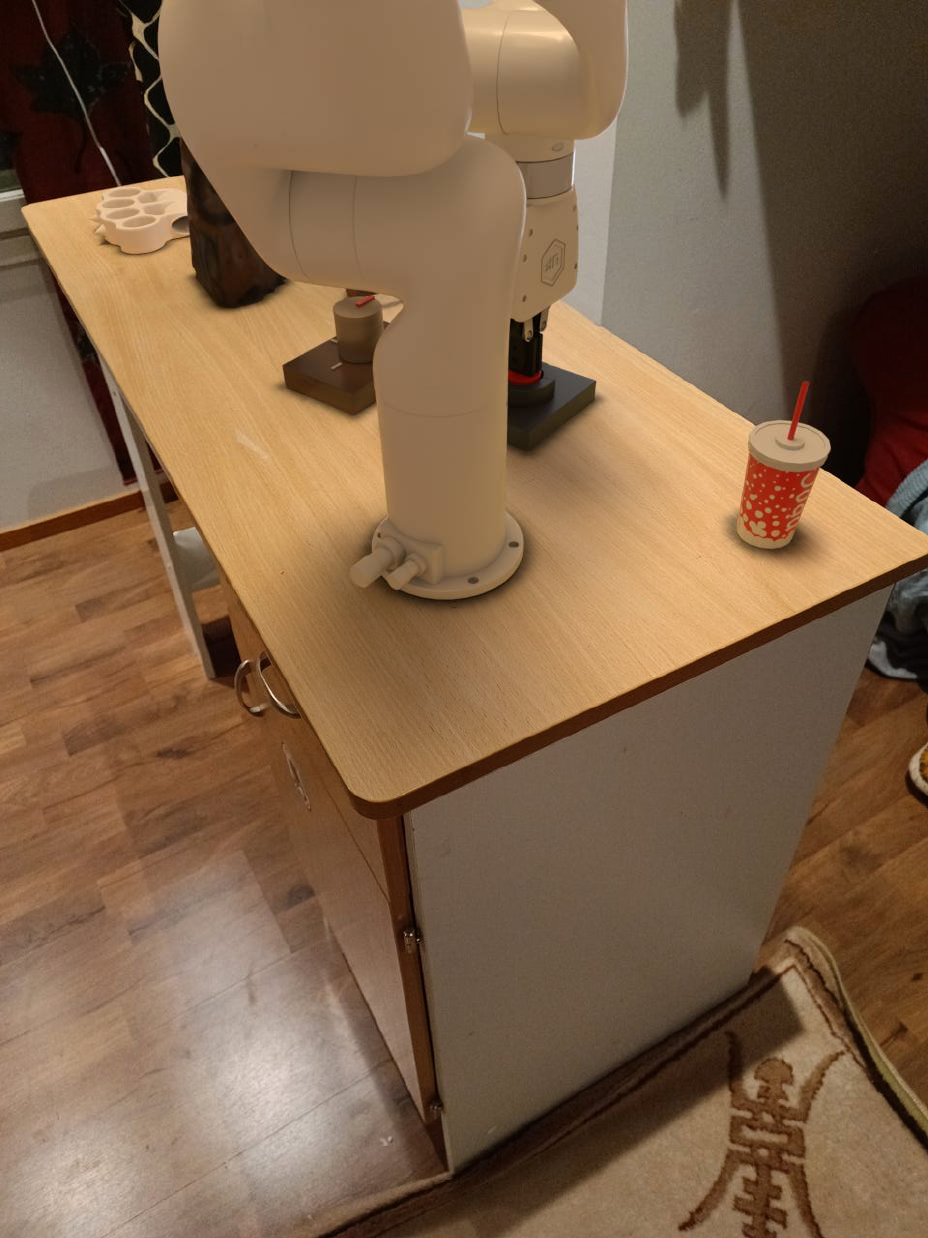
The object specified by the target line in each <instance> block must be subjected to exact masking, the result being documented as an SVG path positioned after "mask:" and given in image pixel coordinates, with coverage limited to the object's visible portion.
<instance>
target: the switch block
mask: <svg viewBox="0 0 928 1238" xmlns="http://www.w3.org/2000/svg"><path fill="white" fill-rule="evenodd" d="M596 388H597V380H596V379H594V378H590V377H588V376H587V377H586V376H583V375H582V374H579V373H575V372H572V371H570V370H566V369H563V368H561V367H559V366H556V365H552V364H549V363H548V362H545V361H543V360H542V369H541V380H540V381H538V382H536V383H532V384H528V385H519V384H513V383H510V382H508V404H507V445H509V446H512V447H515V448H517V449H520V450H522V451H524V452H526V453H529V452H530V451H531V450H533V449H534V448H535V447H537V446H538V445H539V444H541V443H542V442H543V441H544V440H545V439H546V438H548V437H549V436H550V435H551V434H553V433H554V432H556V430H558V429H559V428H560V427H562V426H564V424H566V423H567V422H568V421H570V420H571V419H572V418H573V417H575V416H576V415H577V414H578V413H580V412H581V411H582V410H583V409H584V408H586V407H587V406H588V405H590V404H591V403H593V401H595V399H596Z"/></svg>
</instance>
